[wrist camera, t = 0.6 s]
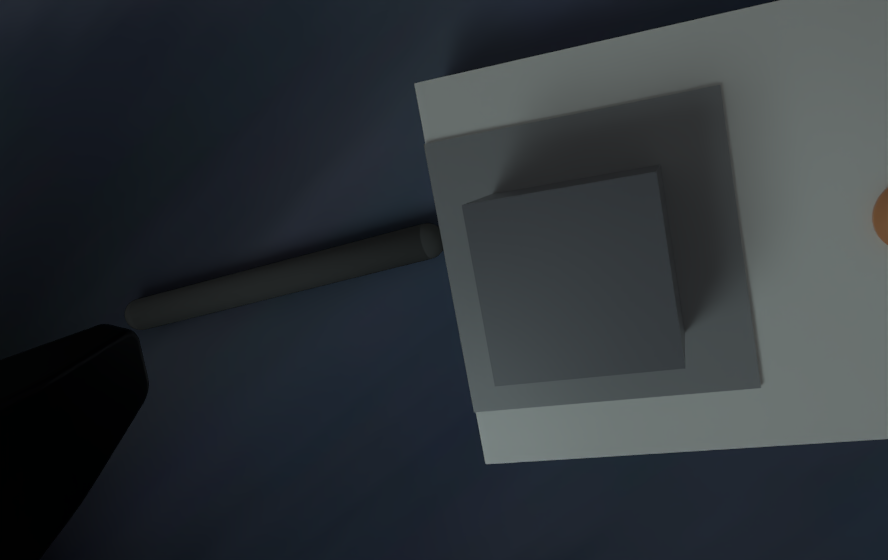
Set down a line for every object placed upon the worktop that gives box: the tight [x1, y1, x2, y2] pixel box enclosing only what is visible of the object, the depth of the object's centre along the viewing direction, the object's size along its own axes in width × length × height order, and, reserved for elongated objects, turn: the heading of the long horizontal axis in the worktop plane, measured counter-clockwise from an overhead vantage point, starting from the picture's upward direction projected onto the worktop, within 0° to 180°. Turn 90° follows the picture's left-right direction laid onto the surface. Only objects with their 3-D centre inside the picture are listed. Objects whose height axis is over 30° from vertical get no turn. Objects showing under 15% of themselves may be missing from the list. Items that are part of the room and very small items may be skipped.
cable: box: [125, 223, 443, 330], centre depth 23 cm, size 11×1×1 cm, turn 107°
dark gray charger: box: [462, 165, 685, 386], centre depth 18 cm, size 4×4×3 cm
